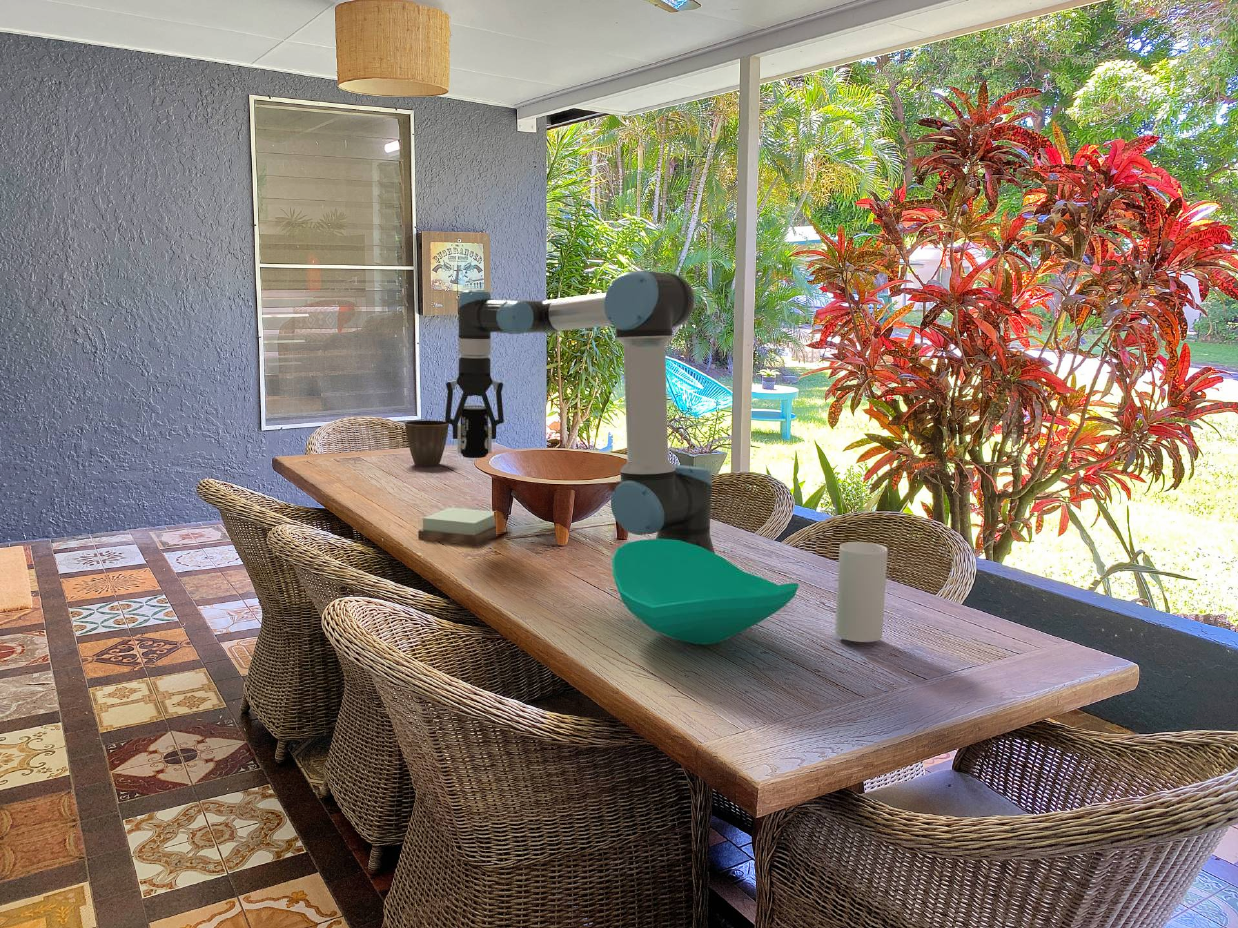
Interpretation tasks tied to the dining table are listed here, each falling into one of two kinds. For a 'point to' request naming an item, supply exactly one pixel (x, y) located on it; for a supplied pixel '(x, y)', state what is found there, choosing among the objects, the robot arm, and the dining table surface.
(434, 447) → the plant pot
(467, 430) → the beverage can
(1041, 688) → the dining table surface
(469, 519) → the tower top
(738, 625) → the table top decor
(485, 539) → the tower base
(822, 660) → the dining table surface
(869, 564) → the cup
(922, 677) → the dining table surface
